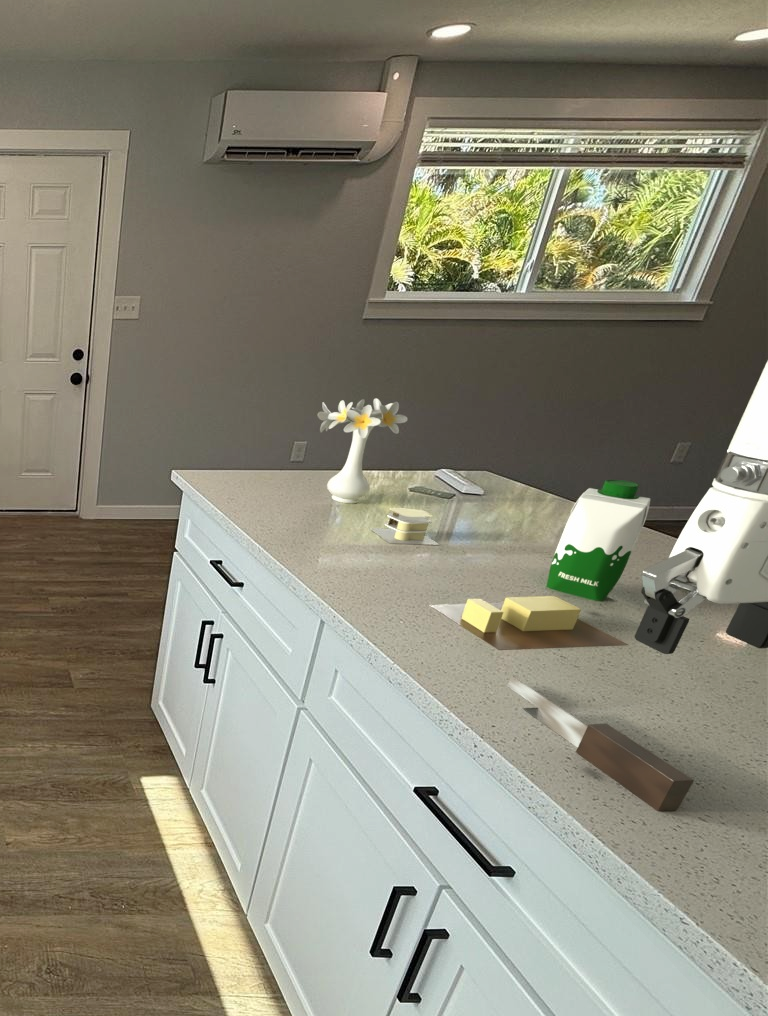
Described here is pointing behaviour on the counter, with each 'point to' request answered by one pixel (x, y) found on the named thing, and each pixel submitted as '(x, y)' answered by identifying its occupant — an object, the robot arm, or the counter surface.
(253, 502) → the counter surface
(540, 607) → the butter stick
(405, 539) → the stacked layers on plate
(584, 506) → the milk carton
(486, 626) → the butter pat
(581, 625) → the cutting board
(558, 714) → the knife
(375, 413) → the flower vase
